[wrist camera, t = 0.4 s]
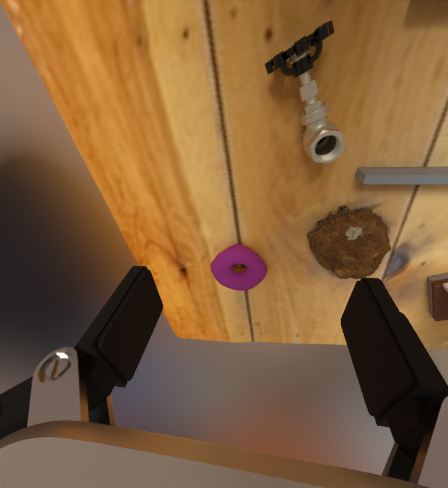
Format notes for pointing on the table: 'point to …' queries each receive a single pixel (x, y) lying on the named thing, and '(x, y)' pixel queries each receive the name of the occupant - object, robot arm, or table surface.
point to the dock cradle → (403, 175)
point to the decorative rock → (350, 242)
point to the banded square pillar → (438, 296)
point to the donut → (235, 275)
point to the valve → (311, 96)
